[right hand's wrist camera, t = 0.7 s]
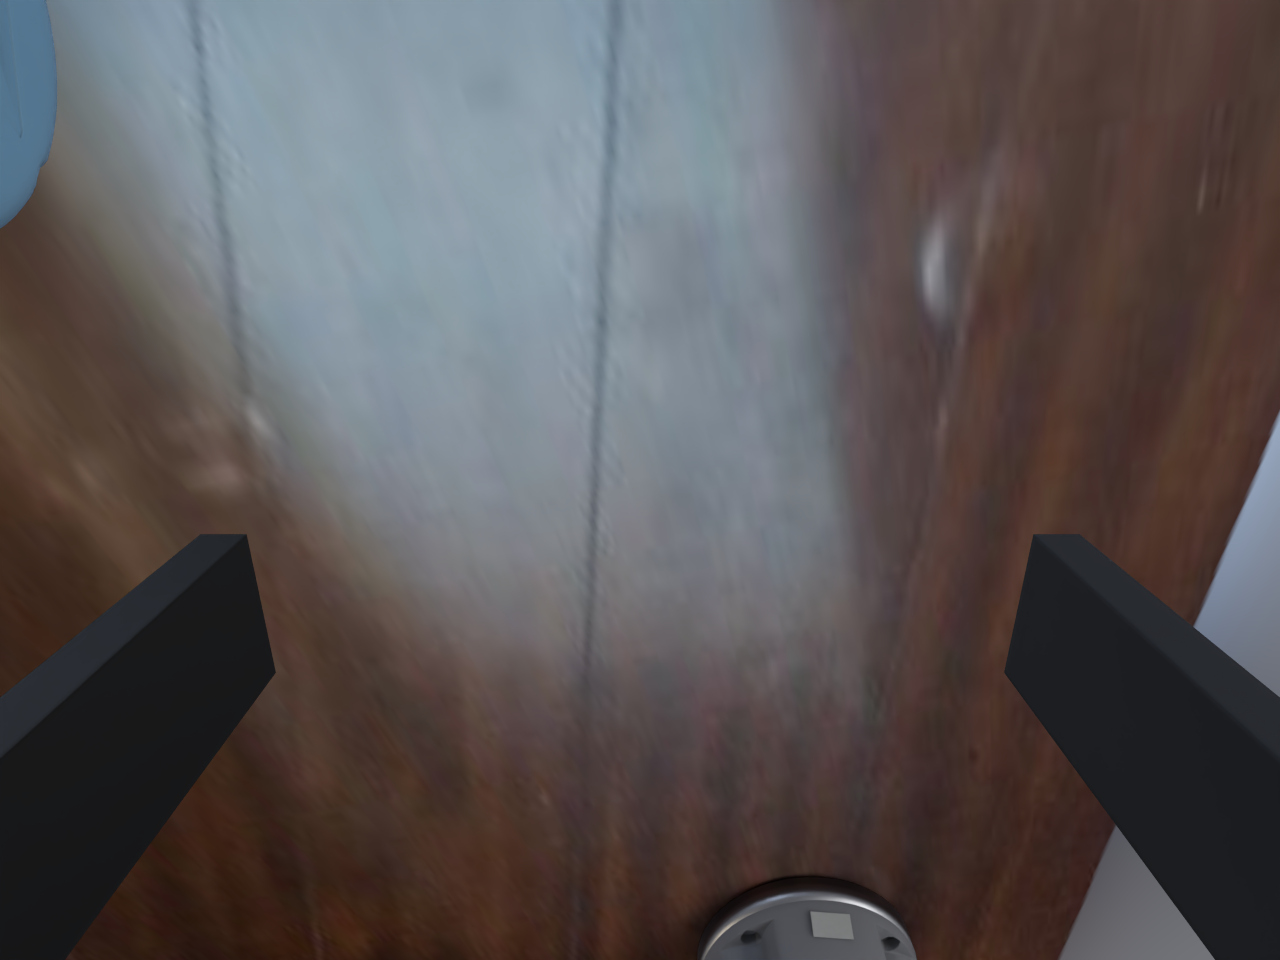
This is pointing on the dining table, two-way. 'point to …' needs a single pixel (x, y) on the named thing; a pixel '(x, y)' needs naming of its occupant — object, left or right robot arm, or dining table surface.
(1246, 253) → the dining table surface
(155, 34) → the dining table surface
